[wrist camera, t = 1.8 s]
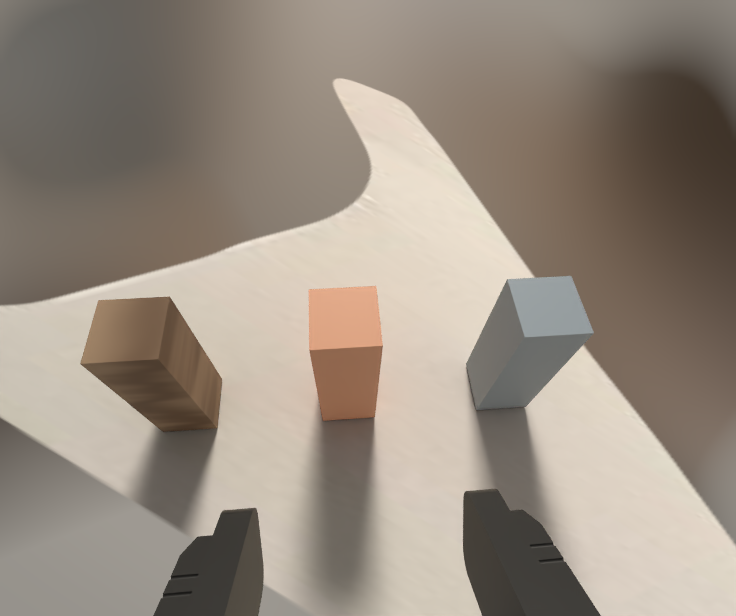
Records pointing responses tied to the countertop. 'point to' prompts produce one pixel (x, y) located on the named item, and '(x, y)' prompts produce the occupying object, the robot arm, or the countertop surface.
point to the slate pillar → (526, 341)
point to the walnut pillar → (154, 363)
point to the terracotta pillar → (345, 350)
